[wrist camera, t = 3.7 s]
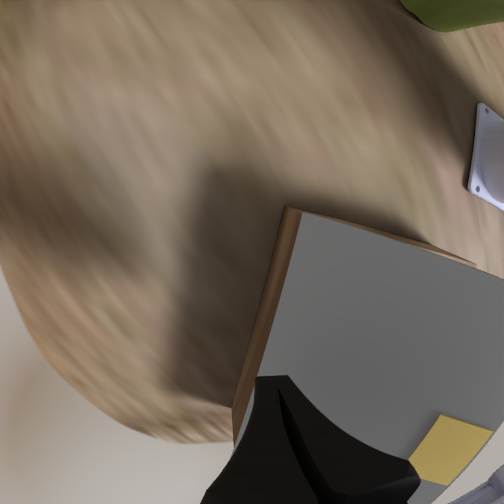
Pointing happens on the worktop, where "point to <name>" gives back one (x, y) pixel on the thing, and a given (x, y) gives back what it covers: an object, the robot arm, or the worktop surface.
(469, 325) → the lid
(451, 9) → the plant pot
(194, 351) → the worktop surface
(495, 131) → the robot arm
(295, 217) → the box base
